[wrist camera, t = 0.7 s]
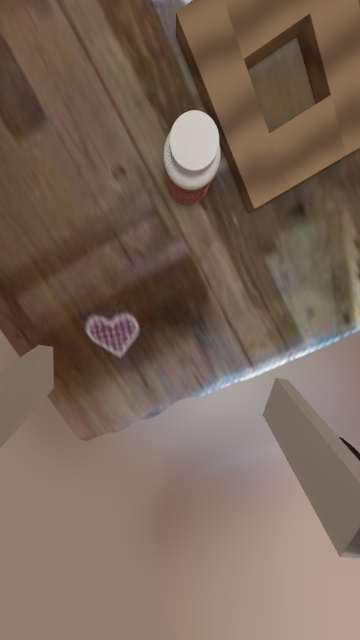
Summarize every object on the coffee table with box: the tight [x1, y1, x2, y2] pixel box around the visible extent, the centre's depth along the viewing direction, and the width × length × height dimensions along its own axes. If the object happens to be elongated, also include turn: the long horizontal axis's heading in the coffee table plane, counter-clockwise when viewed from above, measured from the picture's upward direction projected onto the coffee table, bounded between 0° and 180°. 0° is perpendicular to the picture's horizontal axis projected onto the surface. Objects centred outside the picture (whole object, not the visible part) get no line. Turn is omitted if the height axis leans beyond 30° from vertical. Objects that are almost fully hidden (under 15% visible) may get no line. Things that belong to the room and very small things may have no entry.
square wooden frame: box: [176, 0, 360, 213], centre depth 26 cm, size 22×18×2 cm
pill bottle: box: [163, 110, 220, 204], centre depth 25 cm, size 6×6×11 cm
